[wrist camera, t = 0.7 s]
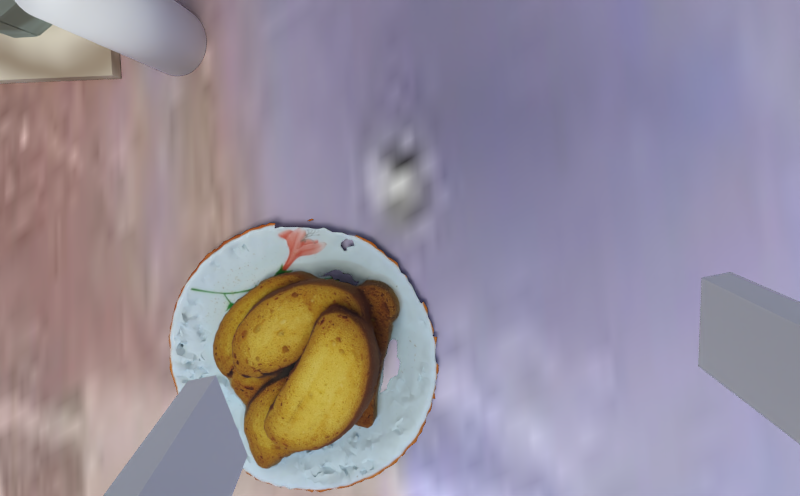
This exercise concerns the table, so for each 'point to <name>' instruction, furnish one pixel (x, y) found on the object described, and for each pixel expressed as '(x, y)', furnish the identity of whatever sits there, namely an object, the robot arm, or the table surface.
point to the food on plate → (308, 353)
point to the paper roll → (131, 29)
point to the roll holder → (48, 51)
